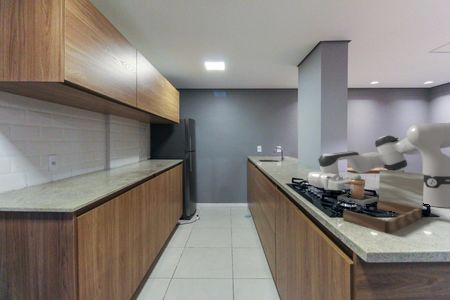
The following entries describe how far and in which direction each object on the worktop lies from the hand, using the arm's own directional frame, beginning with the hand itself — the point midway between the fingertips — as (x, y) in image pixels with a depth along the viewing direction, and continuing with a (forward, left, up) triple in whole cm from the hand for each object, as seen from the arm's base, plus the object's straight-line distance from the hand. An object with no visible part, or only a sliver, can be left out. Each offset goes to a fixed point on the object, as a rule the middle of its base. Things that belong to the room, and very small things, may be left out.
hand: (359, 186), depth 126 cm
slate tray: (0, -1, -8) cm, 8 cm away
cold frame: (+18, +20, -8) cm, 28 cm away
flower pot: (0, -1, -7) cm, 7 cm away
